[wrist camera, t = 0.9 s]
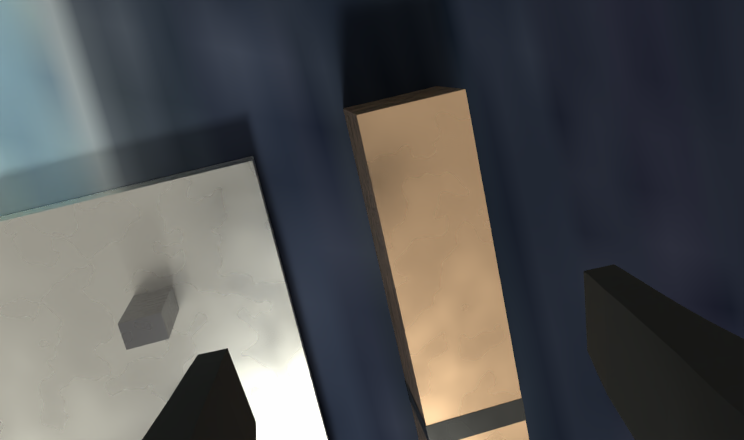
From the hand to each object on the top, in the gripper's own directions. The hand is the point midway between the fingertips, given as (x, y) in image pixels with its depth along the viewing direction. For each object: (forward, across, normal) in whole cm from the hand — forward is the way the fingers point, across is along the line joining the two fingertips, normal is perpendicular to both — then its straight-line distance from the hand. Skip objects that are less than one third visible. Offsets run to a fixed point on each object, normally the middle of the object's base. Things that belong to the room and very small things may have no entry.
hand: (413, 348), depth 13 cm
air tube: (+14, -2, +9) cm, 16 cm away
